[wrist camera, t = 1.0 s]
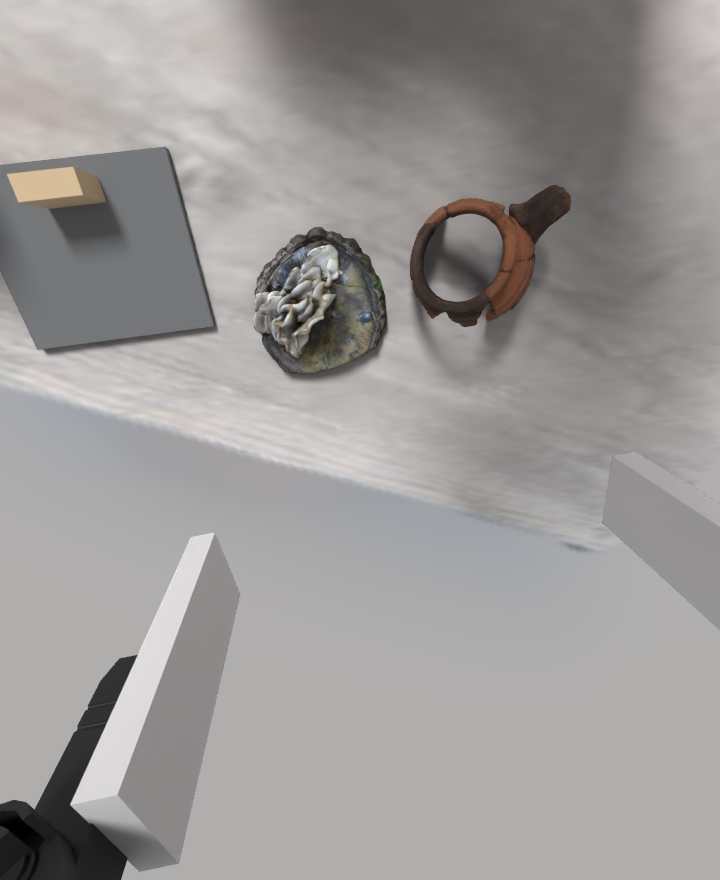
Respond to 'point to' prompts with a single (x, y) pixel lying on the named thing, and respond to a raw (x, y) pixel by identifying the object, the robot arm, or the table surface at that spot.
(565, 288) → the table surface
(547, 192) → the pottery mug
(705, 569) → the robot arm
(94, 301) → the board
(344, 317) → the oyster shell
